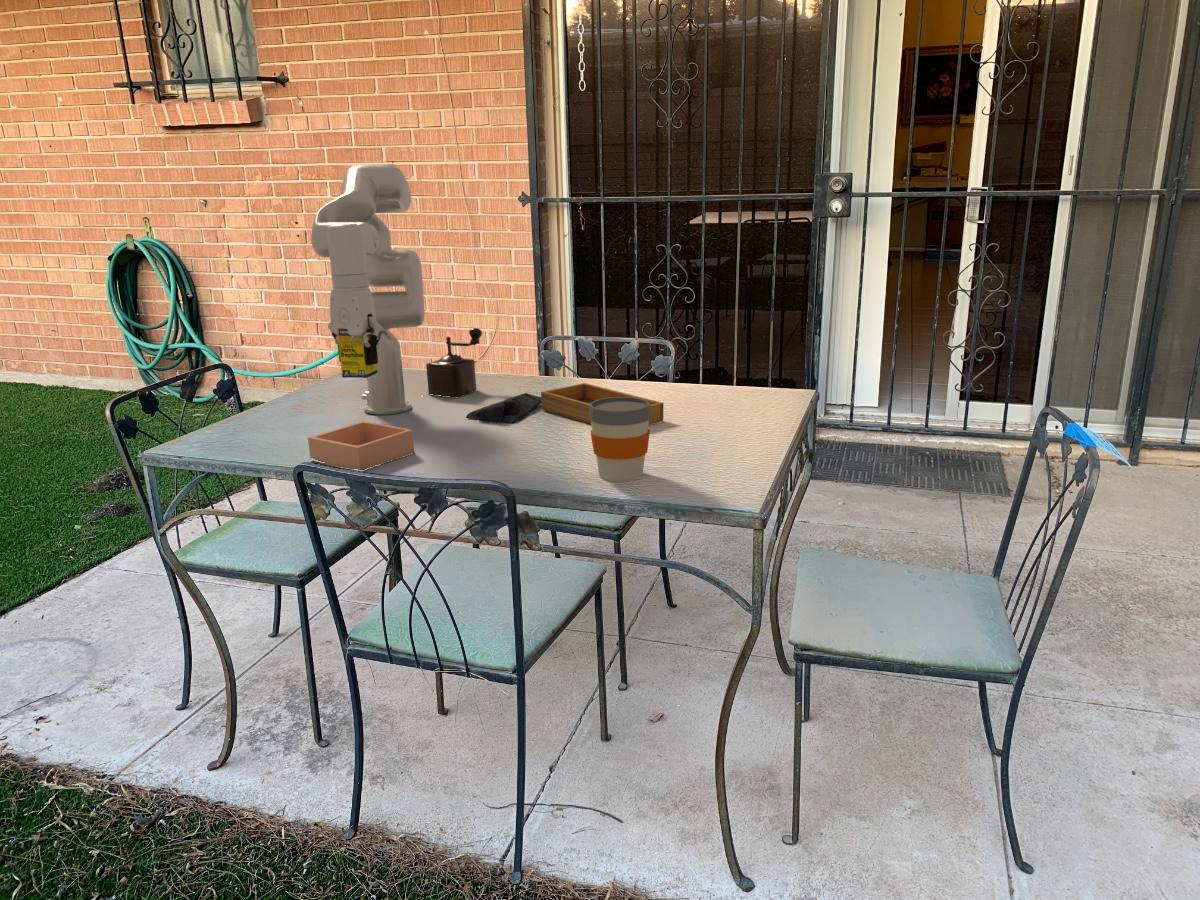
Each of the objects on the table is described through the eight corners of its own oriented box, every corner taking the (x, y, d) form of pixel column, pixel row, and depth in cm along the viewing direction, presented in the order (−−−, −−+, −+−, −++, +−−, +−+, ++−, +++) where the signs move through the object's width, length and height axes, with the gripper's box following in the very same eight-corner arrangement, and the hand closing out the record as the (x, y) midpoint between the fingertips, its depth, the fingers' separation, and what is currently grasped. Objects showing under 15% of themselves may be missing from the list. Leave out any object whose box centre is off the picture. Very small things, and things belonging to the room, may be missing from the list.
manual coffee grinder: (459, 398, 249) (455, 335, 243) (427, 395, 253) (422, 333, 248) (488, 386, 262) (484, 327, 257) (457, 384, 266) (453, 325, 261)
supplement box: (341, 378, 192) (336, 328, 189) (353, 373, 198) (348, 324, 195) (367, 378, 192) (362, 328, 189) (378, 373, 197) (373, 324, 194)
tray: (663, 422, 220) (663, 400, 218) (619, 434, 210) (618, 411, 209) (585, 402, 242) (584, 382, 240) (541, 412, 233) (540, 391, 231)
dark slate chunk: (553, 406, 238) (552, 389, 237) (511, 427, 220) (509, 408, 218) (505, 402, 245) (504, 385, 244) (460, 421, 226) (459, 403, 225)
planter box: (310, 461, 194) (307, 437, 192) (365, 443, 207) (363, 420, 205) (360, 472, 185) (357, 447, 184) (414, 453, 198) (412, 429, 196)
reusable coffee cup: (600, 463, 187) (598, 395, 183) (657, 467, 184) (657, 398, 179) (582, 482, 176) (580, 410, 172) (643, 486, 172) (642, 413, 168)
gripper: (309, 283, 191) (319, 362, 196) (365, 285, 182) (373, 368, 186) (337, 280, 197) (345, 357, 202) (391, 282, 188) (399, 363, 192)
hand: (358, 362), depth 194 cm, fingers closed on supplement box, 7 cm apart
